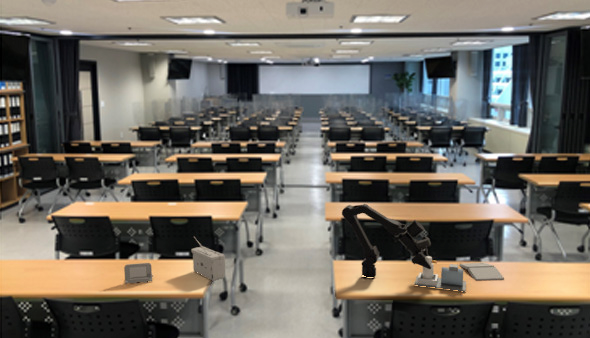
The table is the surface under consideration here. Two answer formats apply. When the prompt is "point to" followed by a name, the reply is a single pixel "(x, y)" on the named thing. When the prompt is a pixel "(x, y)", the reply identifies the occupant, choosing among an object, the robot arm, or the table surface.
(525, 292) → the table surface
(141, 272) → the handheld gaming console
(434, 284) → the tray with square frame
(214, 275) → the stereo radio cassette player
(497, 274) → the gadget
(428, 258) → the white rounded upright piece
